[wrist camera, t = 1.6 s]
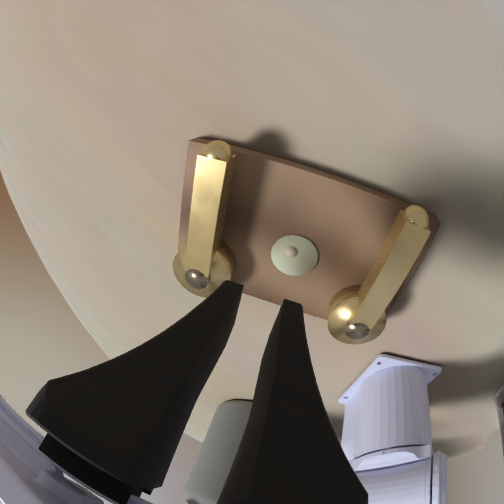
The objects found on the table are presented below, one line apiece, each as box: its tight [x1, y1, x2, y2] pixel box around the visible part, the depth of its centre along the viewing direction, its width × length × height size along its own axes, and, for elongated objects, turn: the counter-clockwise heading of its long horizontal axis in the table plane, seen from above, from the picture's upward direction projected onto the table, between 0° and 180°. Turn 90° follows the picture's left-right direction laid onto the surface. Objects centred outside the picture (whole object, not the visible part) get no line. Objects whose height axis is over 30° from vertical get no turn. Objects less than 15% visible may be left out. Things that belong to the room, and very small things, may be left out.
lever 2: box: [328, 205, 431, 344], centre depth 16 cm, size 11×4×2 cm, turn 168°
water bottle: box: [183, 400, 253, 504], centre depth 23 cm, size 10×10×28 cm
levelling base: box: [178, 137, 441, 320], centre depth 18 cm, size 10×16×2 cm, turn 78°
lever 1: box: [173, 140, 236, 297], centre depth 17 cm, size 11×4×2 cm, turn 168°
